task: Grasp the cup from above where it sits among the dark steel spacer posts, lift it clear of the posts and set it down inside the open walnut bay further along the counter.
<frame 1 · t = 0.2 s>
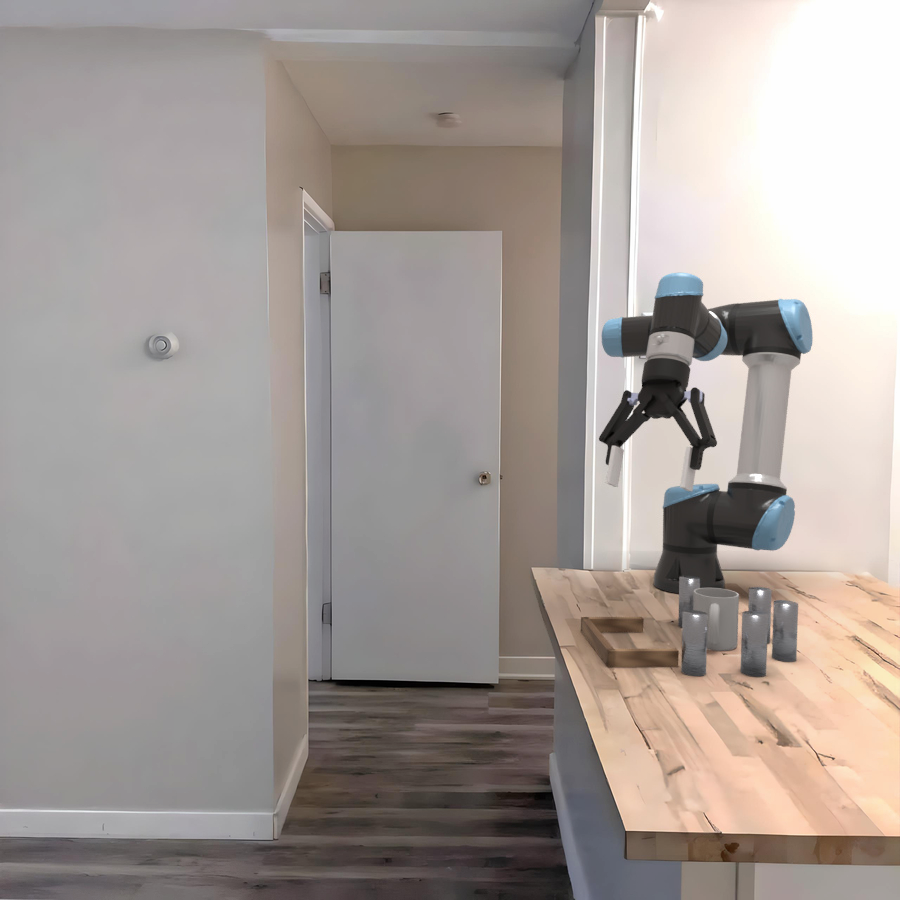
hand: (647, 487, 122), 27 cm above the kitchen counter, tool tilted 20°, fingers open, 13 cm apart
spacers: (714, 646, 127), on the kitchen counter
bay: (626, 647, 126), on the kitchen counter
cup: (714, 648, 127), on the kitchen counter
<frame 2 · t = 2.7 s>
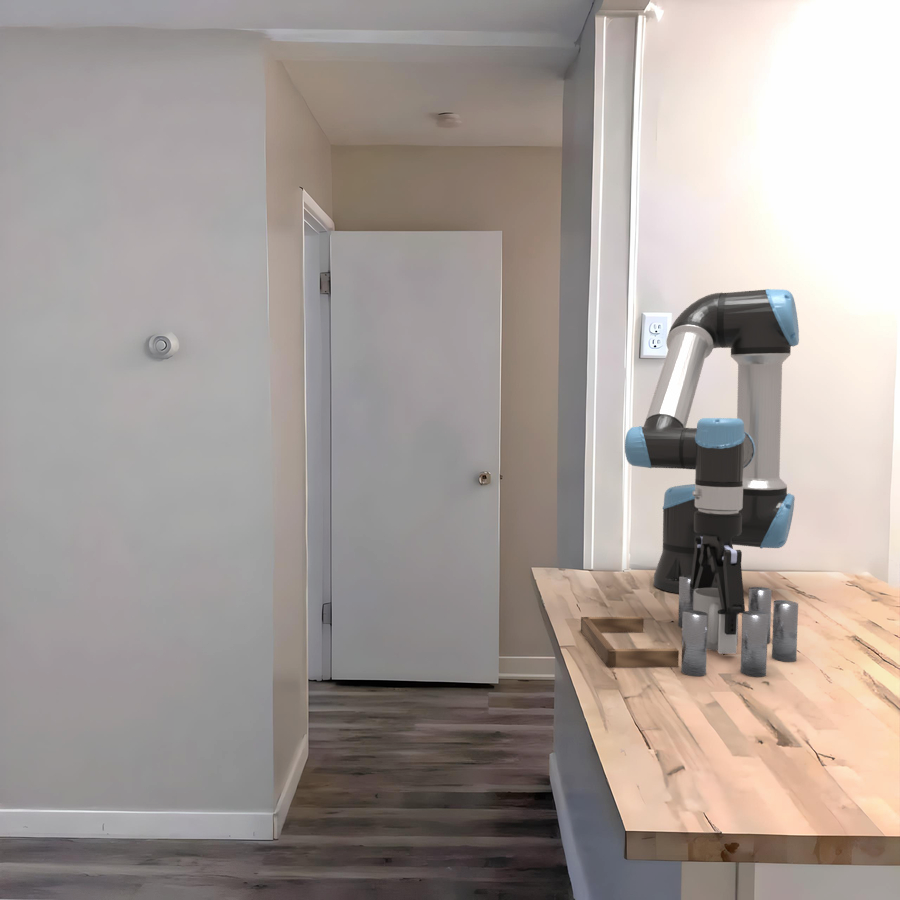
hand: (714, 642, 127), 1 cm above the kitchen counter, tool pointing down, fingers open, 10 cm apart
cup: (714, 648, 127), on the kitchen counter, touching gripper
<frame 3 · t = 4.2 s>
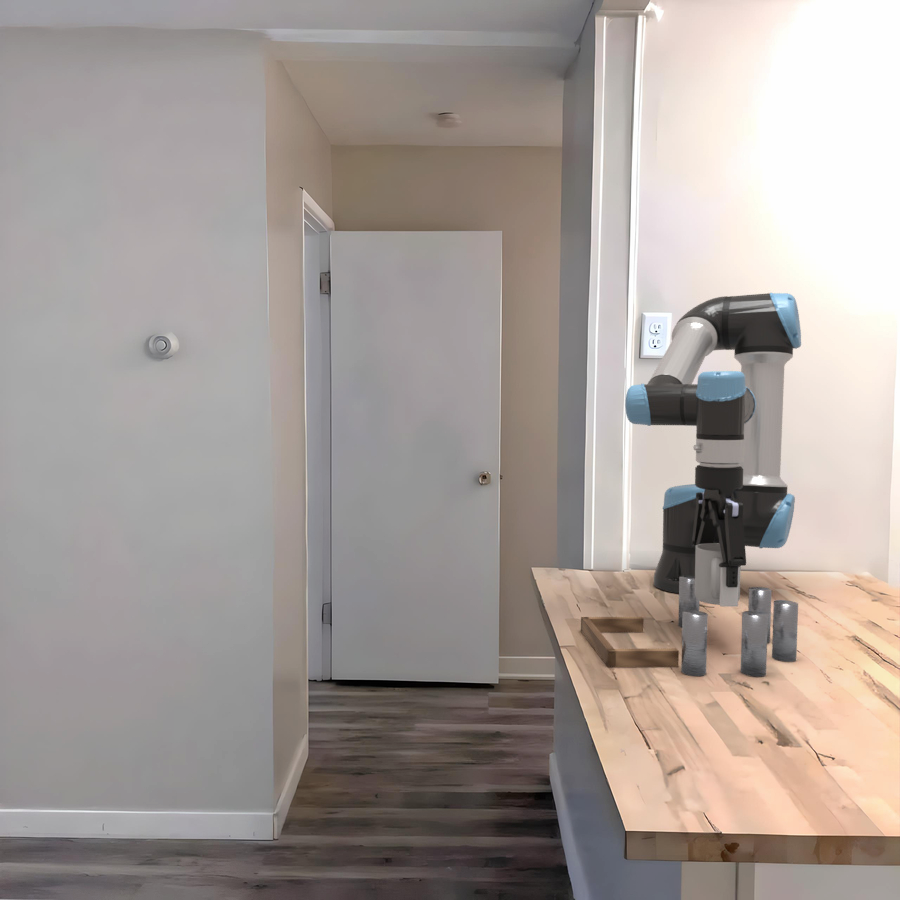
hand: (716, 597, 127), 8 cm above the kitchen counter, tool pointing down, fingers closed on cup, 9 cm apart
cup: (716, 602, 127), point 7 cm above the kitchen counter, touching gripper
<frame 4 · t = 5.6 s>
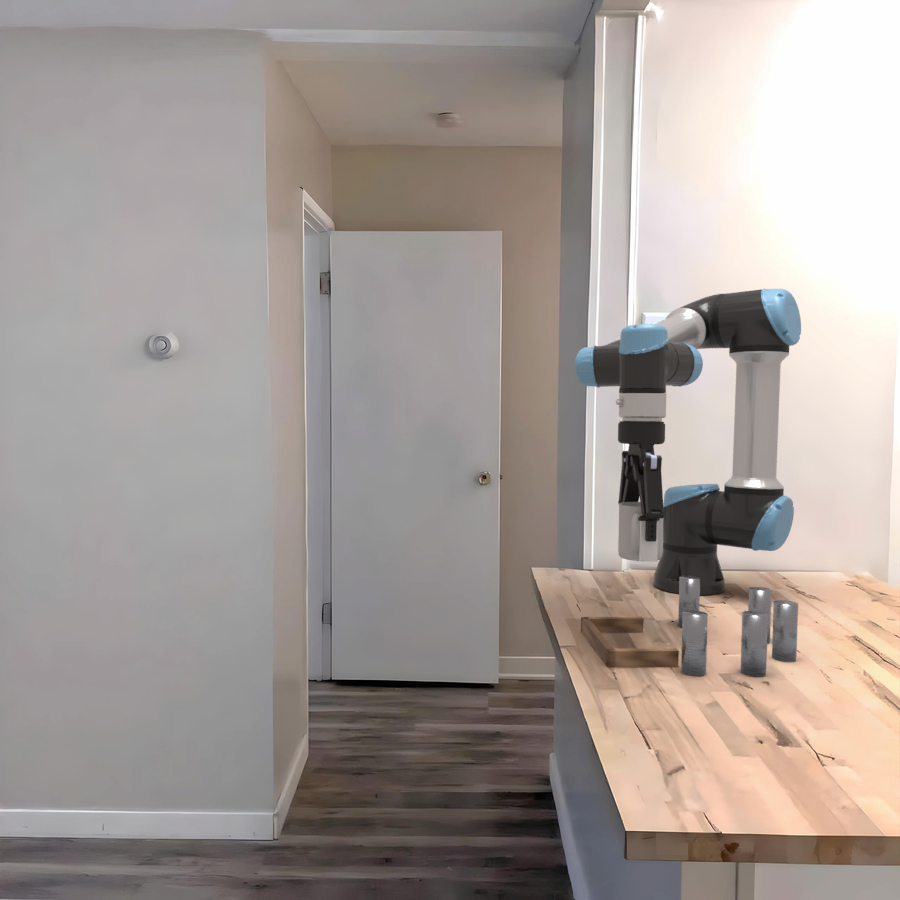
hand: (638, 554, 125), 16 cm above the kitchen counter, tool pointing down, fingers closed on cup, 9 cm apart
cup: (638, 560, 125), point 15 cm above the kitchen counter, touching gripper
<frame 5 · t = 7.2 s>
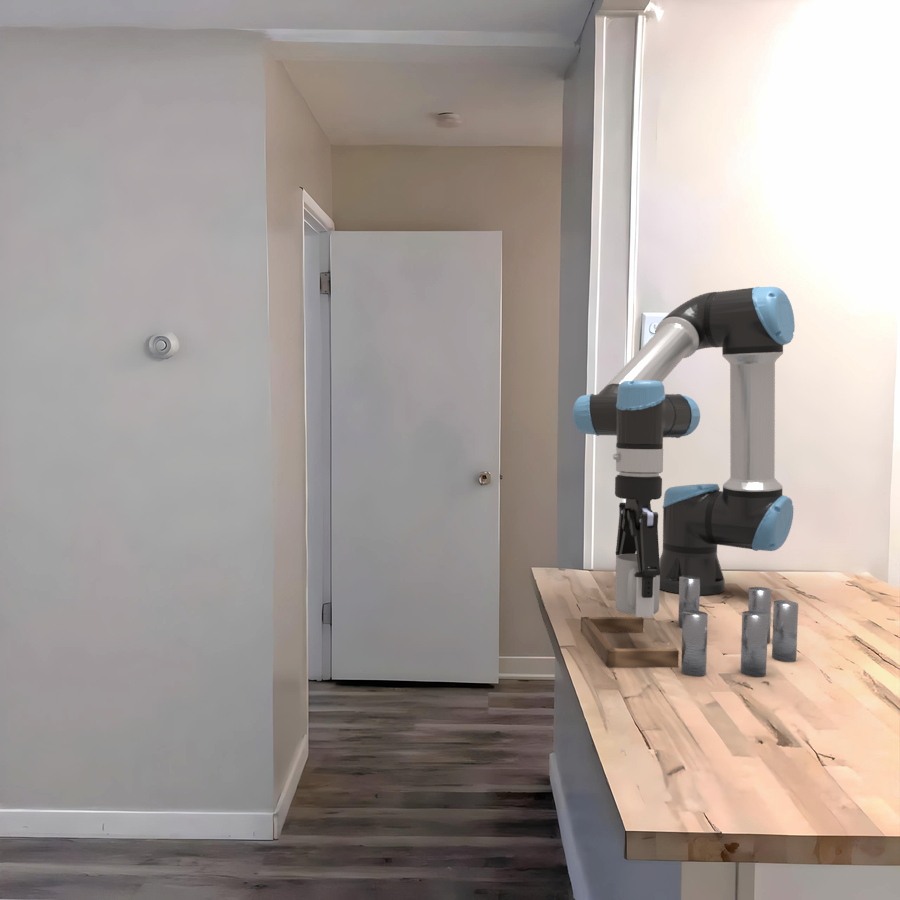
hand: (635, 608, 126), 7 cm above the kitchen counter, tool pointing down, fingers closed on cup, 9 cm apart
cup: (635, 613, 125), point 6 cm above the kitchen counter, touching gripper
when the fingers open (3 cm above the kitchen counter, at t = 8.5 s): cup drops 2 cm, on the kitchen counter.
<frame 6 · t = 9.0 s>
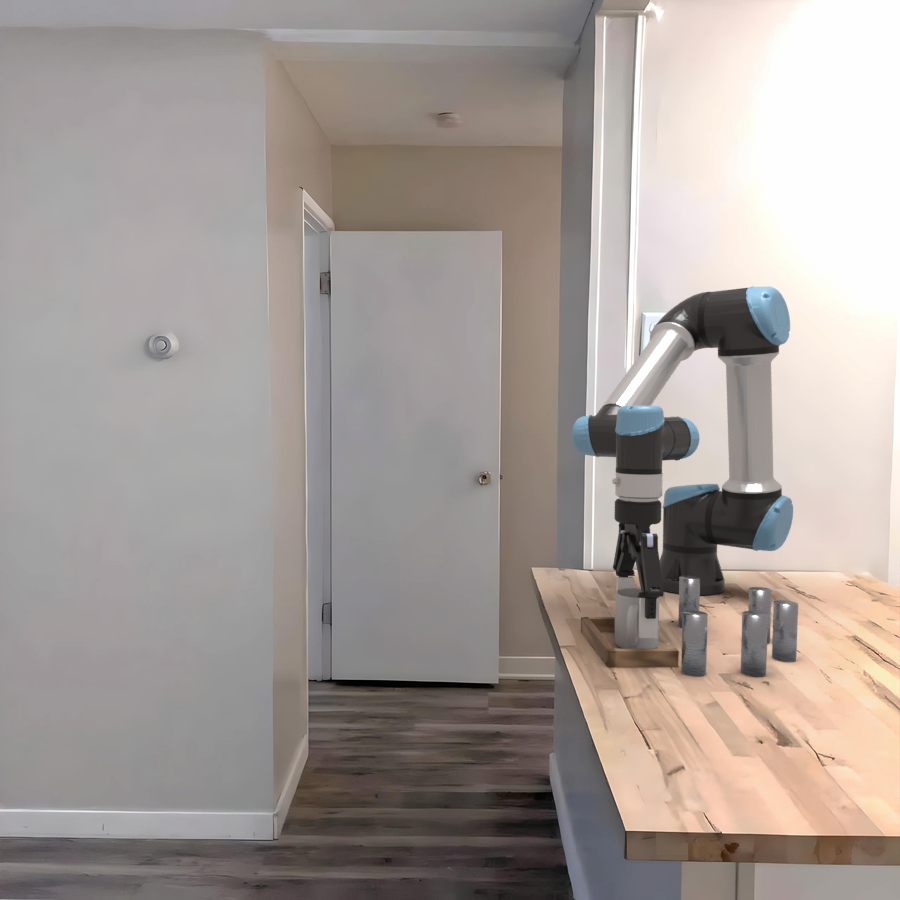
hand: (635, 625, 126), 4 cm above the kitchen counter, tool pointing down, fingers open, 13 cm apart
cup: (634, 648, 126), on the kitchen counter
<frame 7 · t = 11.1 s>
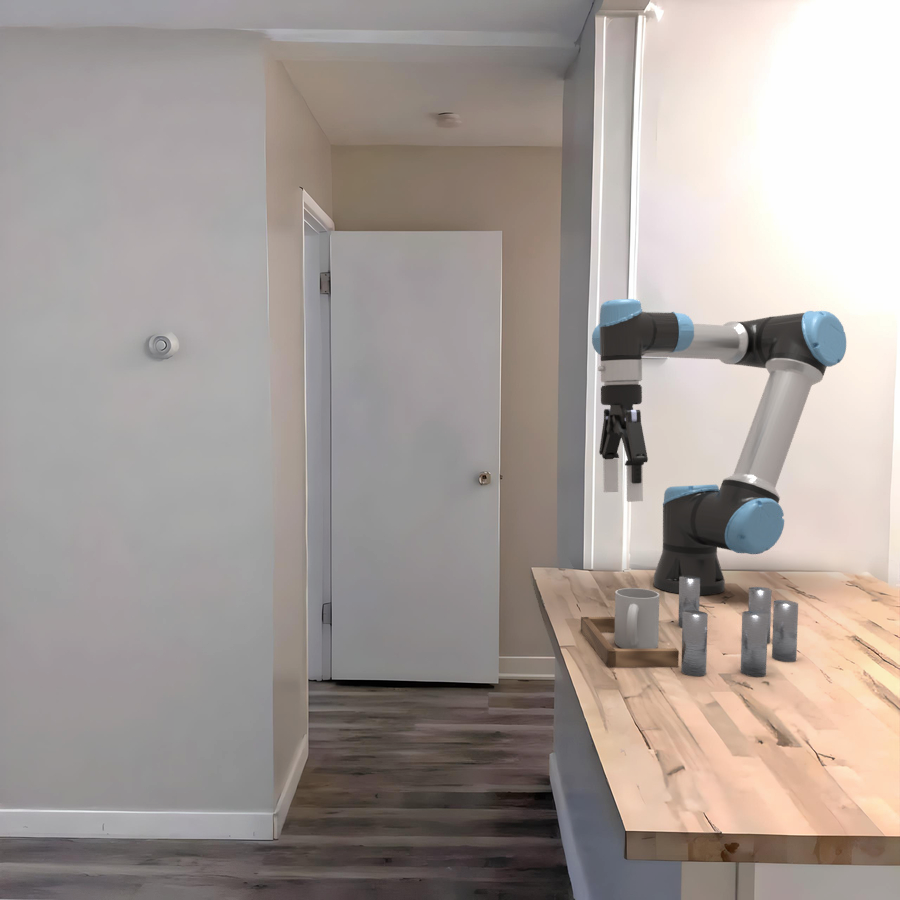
hand: (622, 496, 143), 23 cm above the kitchen counter, tool pointing down, fingers open, 13 cm apart
nothing on the kitchen counter moved.
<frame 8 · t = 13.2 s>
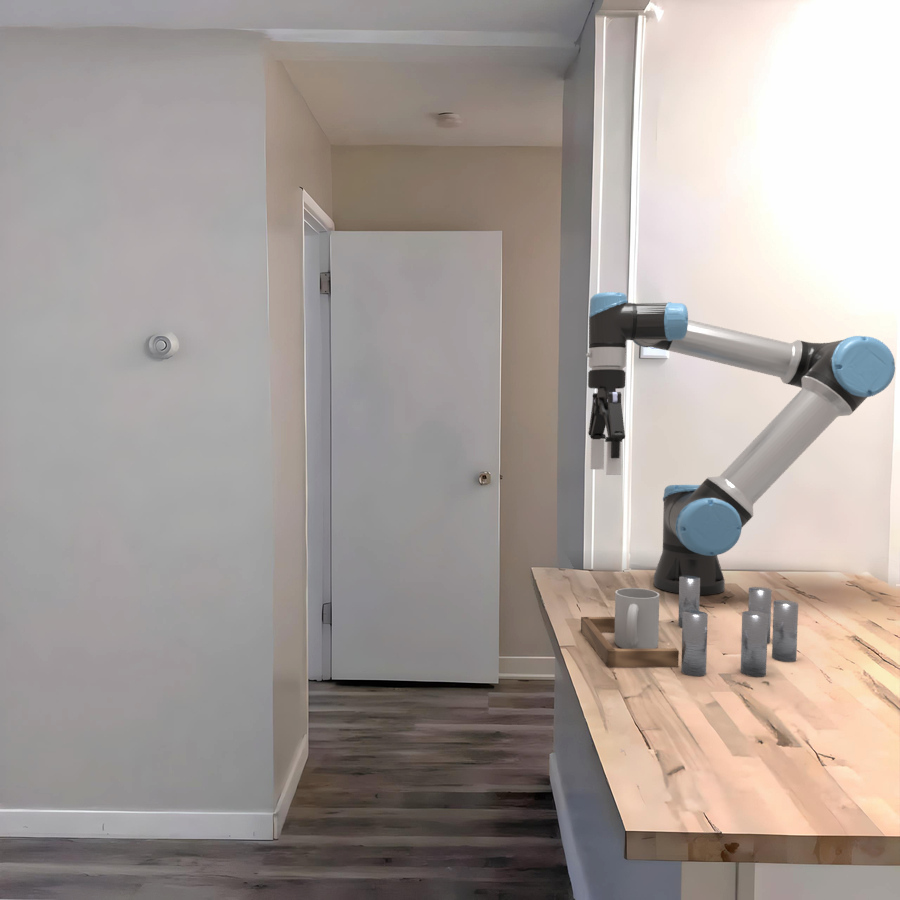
hand: (604, 472, 157), 27 cm above the kitchen counter, tool pointing down, fingers open, 13 cm apart
nothing on the kitchen counter moved.
at the end: cup inside the target area (1.0 cm from its centre), on the kitchen counter; cup tilted 0°; the gripper is holding nothing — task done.
